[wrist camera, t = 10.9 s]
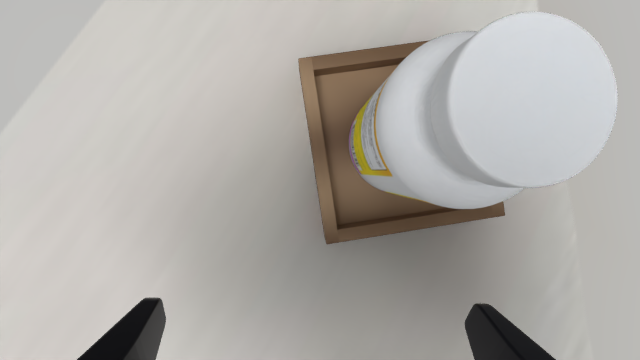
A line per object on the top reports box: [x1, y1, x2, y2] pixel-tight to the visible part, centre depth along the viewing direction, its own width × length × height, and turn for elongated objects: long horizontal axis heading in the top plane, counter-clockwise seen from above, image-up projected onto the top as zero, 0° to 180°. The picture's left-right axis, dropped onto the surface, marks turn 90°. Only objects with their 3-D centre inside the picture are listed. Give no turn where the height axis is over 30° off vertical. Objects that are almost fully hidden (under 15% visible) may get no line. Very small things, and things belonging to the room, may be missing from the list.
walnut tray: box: [298, 41, 505, 244], centre depth 21 cm, size 12×12×2 cm
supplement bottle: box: [349, 12, 618, 209], centre depth 15 cm, size 7×7×13 cm
